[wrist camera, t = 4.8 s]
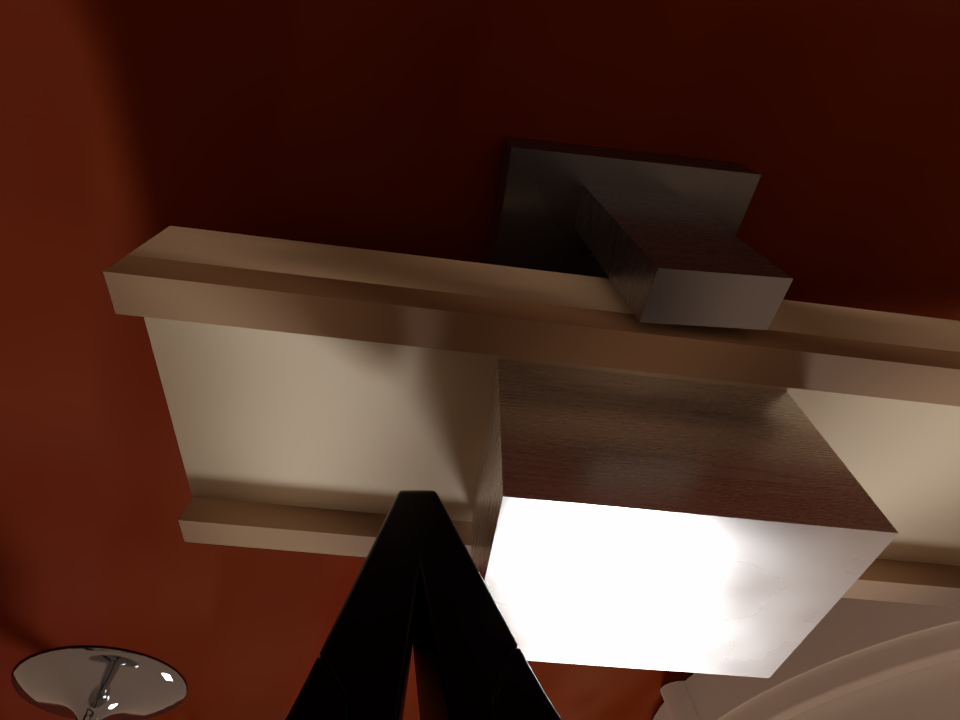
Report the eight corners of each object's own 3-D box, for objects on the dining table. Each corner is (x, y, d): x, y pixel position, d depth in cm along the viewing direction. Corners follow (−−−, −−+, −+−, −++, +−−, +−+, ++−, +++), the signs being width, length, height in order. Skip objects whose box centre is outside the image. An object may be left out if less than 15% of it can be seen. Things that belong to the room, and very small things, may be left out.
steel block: (472, 510, 13) (467, 656, 10) (498, 360, 10) (503, 496, 7) (706, 531, 13) (768, 678, 10) (787, 391, 11) (898, 533, 8)
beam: (235, 452, 15) (184, 541, 13) (190, 211, 11) (103, 271, 9) (1007, 526, 17) (1101, 619, 14) (1209, 336, 13) (1390, 419, 10)
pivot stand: (458, 470, 18) (471, 623, 14) (505, 137, 12) (556, 218, 8) (620, 472, 19) (682, 617, 15) (740, 163, 13) (910, 250, 9)
